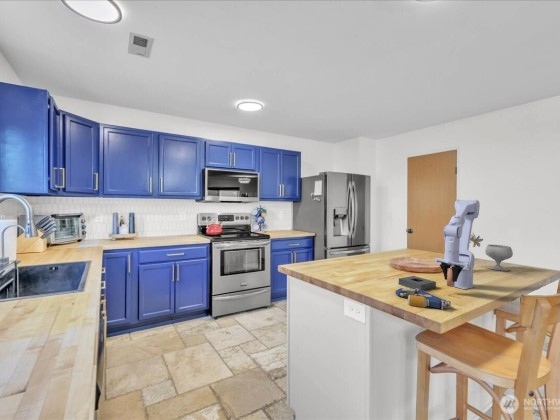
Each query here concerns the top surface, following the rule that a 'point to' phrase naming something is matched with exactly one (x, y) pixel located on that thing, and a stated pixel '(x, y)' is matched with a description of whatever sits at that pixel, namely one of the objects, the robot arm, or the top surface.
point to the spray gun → (422, 298)
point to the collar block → (417, 283)
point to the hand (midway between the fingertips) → (450, 280)
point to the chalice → (498, 255)
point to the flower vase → (475, 240)
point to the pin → (450, 278)
